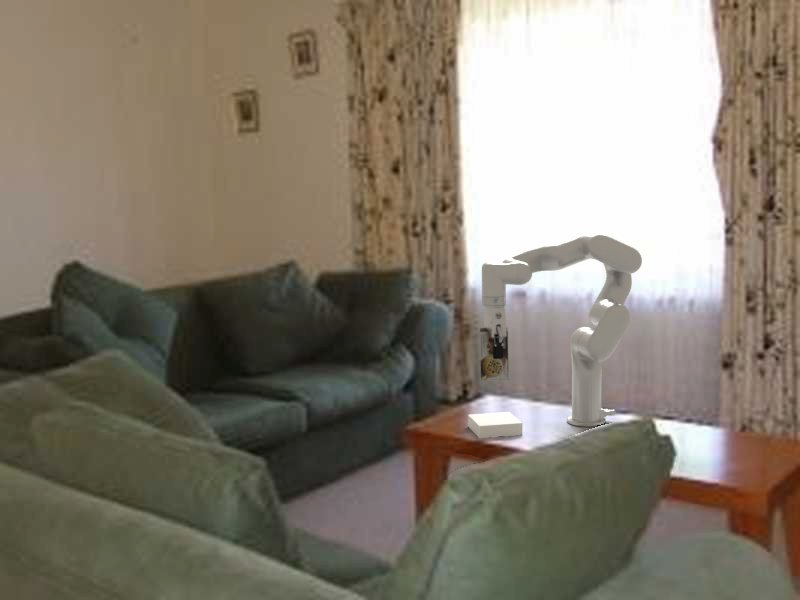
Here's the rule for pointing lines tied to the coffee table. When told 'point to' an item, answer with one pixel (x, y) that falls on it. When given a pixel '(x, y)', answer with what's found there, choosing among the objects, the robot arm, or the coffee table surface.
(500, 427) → the riser block
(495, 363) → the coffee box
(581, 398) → the robot arm
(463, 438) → the coffee table surface
